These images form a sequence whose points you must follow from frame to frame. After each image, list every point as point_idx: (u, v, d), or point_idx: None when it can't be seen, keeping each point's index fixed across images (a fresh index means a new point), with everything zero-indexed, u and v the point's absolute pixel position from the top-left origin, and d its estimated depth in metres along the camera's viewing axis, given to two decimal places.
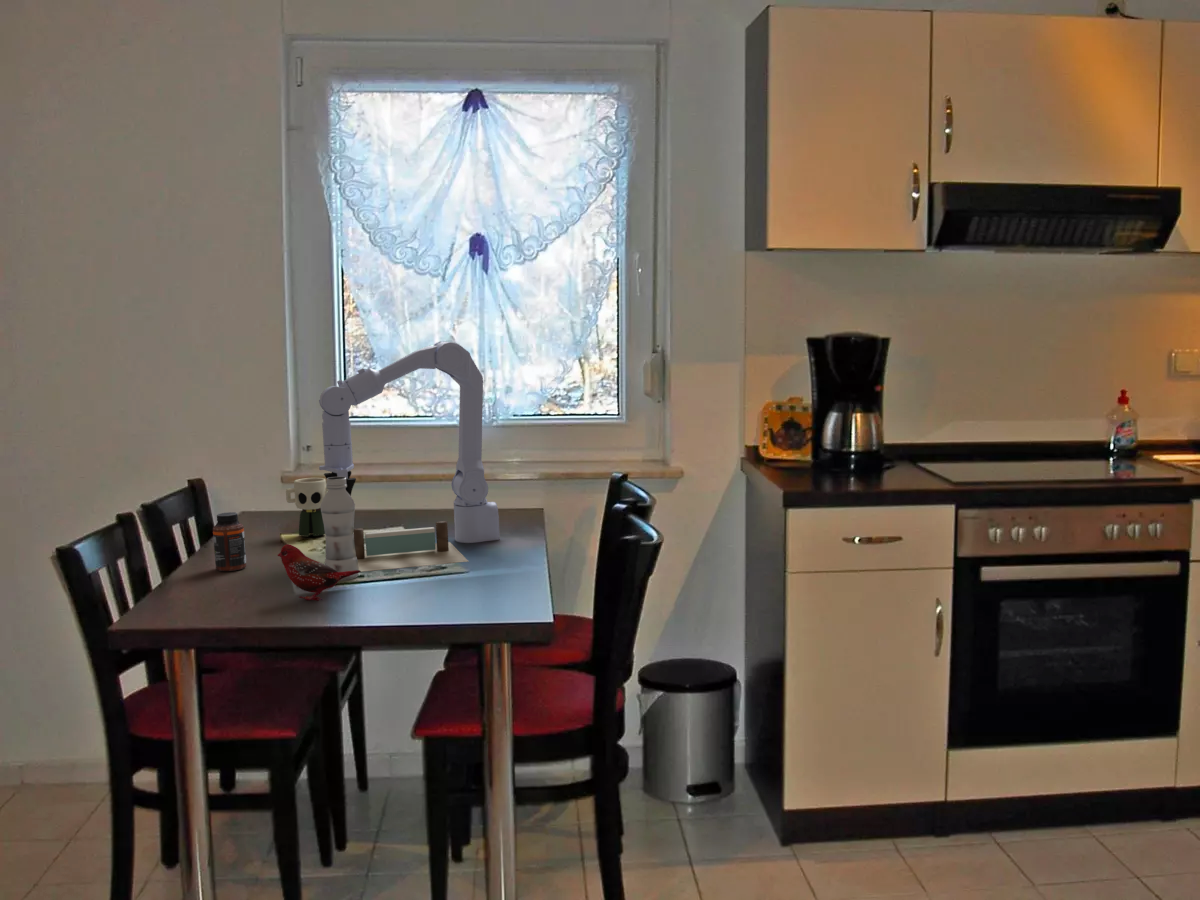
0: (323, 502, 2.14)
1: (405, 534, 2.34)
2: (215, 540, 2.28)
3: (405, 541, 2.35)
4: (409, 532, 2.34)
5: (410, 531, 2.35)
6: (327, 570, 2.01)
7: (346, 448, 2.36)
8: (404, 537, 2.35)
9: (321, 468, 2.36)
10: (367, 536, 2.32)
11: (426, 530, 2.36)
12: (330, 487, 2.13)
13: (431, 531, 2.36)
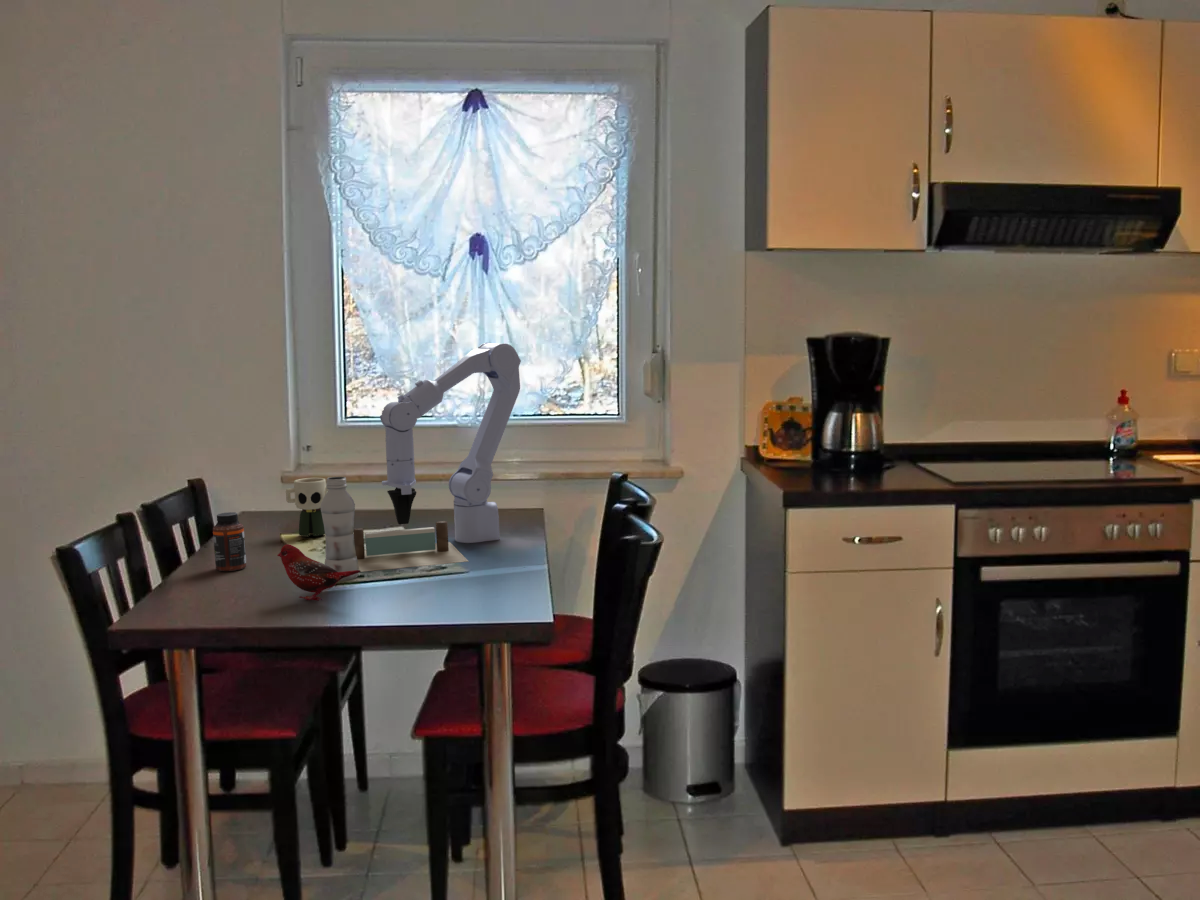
0: (323, 502, 2.14)
1: (405, 534, 2.34)
2: (215, 540, 2.28)
3: (405, 541, 2.35)
4: (409, 532, 2.34)
5: (410, 531, 2.35)
6: (327, 570, 2.01)
7: (409, 464, 2.37)
8: (404, 537, 2.35)
9: (384, 483, 2.38)
10: (367, 536, 2.32)
11: (426, 530, 2.36)
12: (330, 487, 2.13)
13: (431, 531, 2.36)
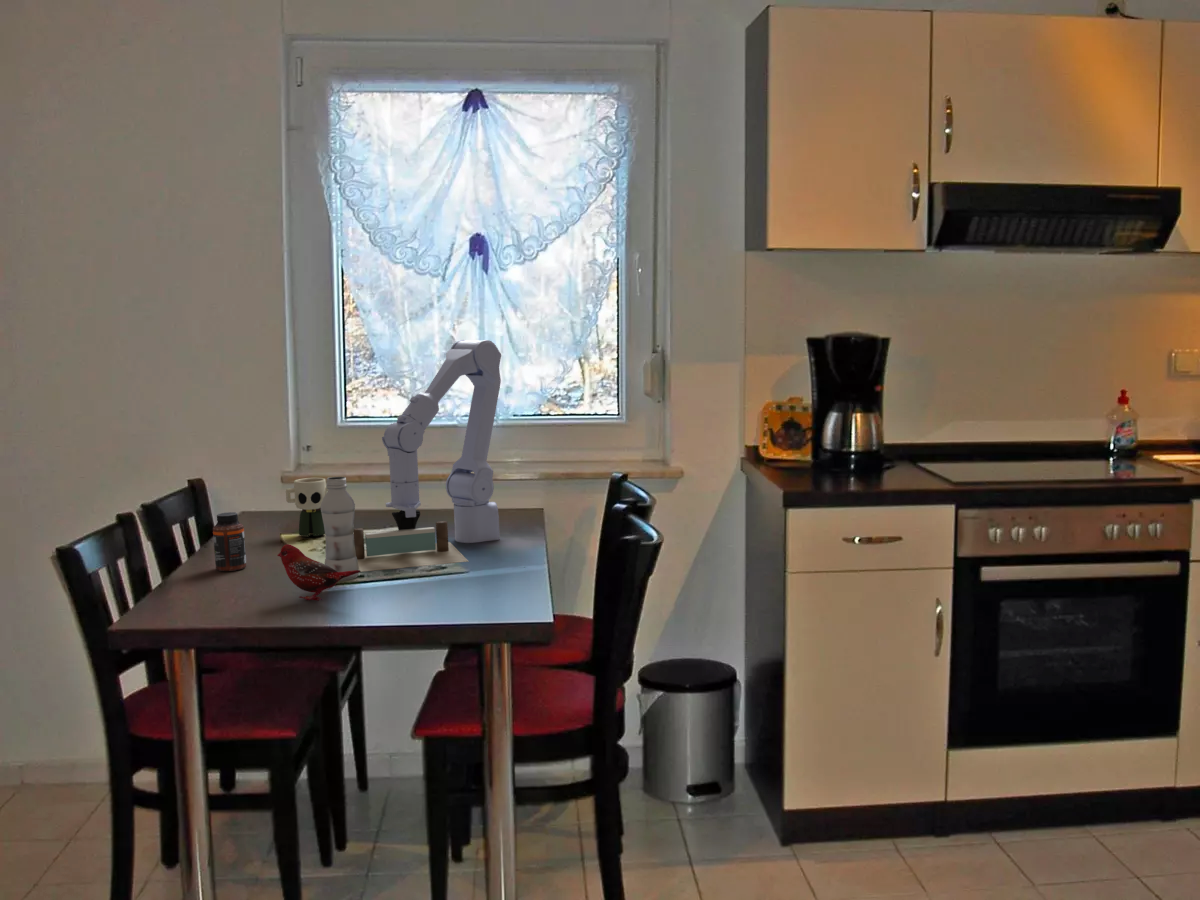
0: (323, 502, 2.14)
1: (405, 534, 2.34)
2: (215, 540, 2.28)
3: (405, 541, 2.34)
4: (409, 532, 2.34)
5: (410, 531, 2.34)
6: (327, 570, 2.01)
7: (413, 485, 2.33)
8: (405, 537, 2.34)
9: (388, 505, 2.34)
10: (367, 536, 2.31)
11: (426, 530, 2.35)
12: (330, 487, 2.13)
13: (431, 531, 2.36)
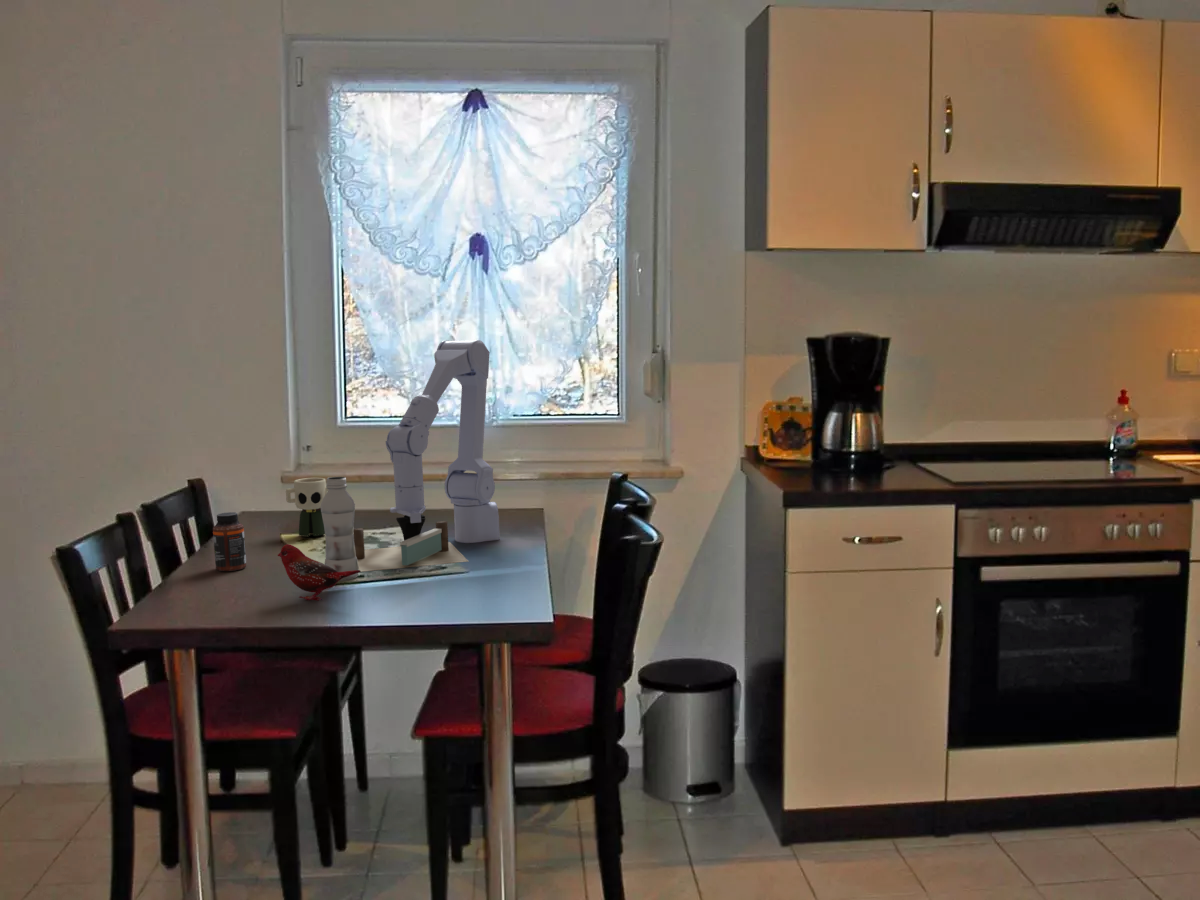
0: (323, 502, 2.14)
1: (427, 538, 2.30)
2: (215, 540, 2.28)
3: (426, 545, 2.30)
4: (429, 535, 2.31)
5: (429, 534, 2.31)
6: (327, 570, 2.01)
7: (418, 490, 2.28)
8: (426, 541, 2.30)
9: (392, 510, 2.28)
10: (408, 544, 2.23)
11: (437, 531, 2.34)
12: (330, 487, 2.13)
13: (439, 531, 2.35)
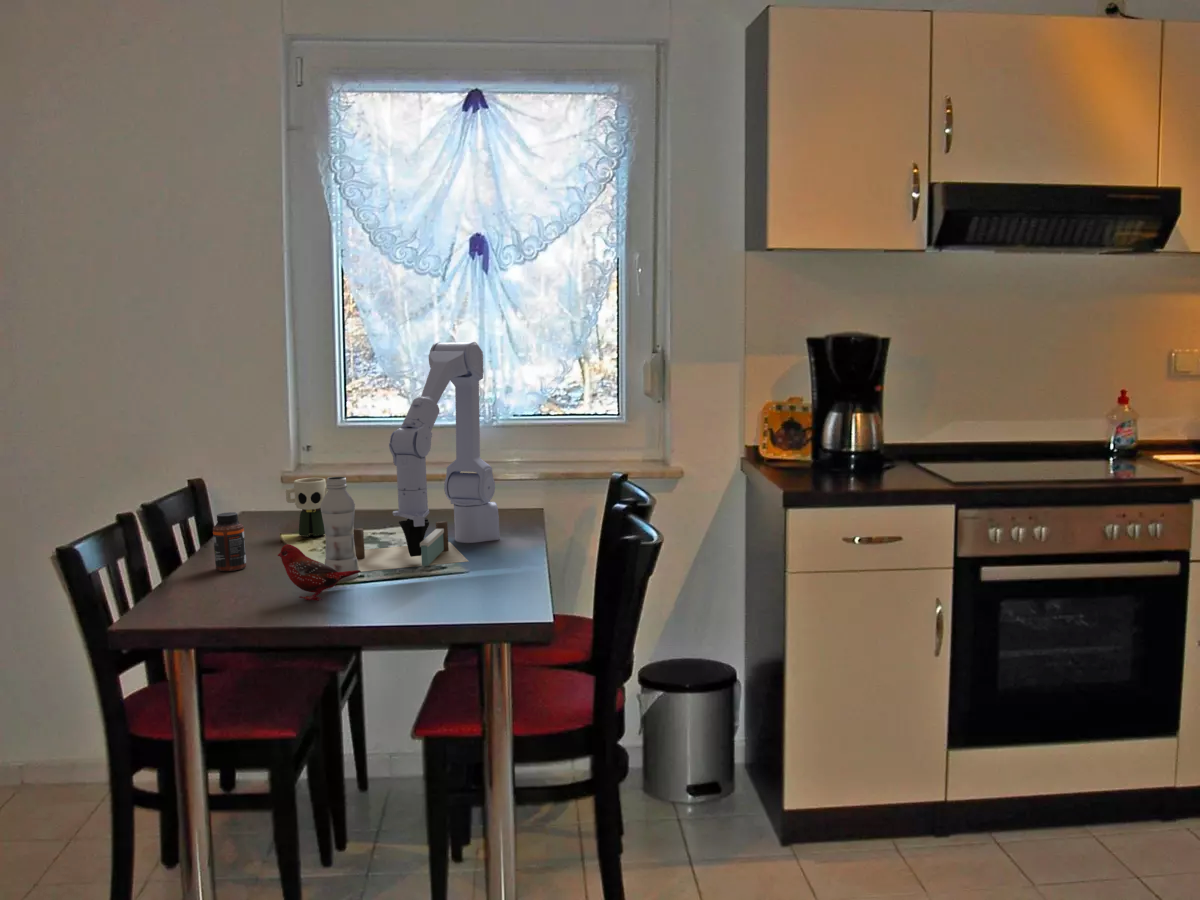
0: (323, 502, 2.14)
1: (436, 538, 2.30)
2: (215, 540, 2.28)
3: (436, 545, 2.30)
4: (438, 535, 2.30)
5: (438, 534, 2.31)
6: (327, 570, 2.01)
7: (422, 493, 2.24)
8: (436, 541, 2.30)
9: (395, 514, 2.24)
10: (428, 545, 2.22)
11: (442, 531, 2.34)
12: (330, 487, 2.13)
13: (443, 531, 2.35)
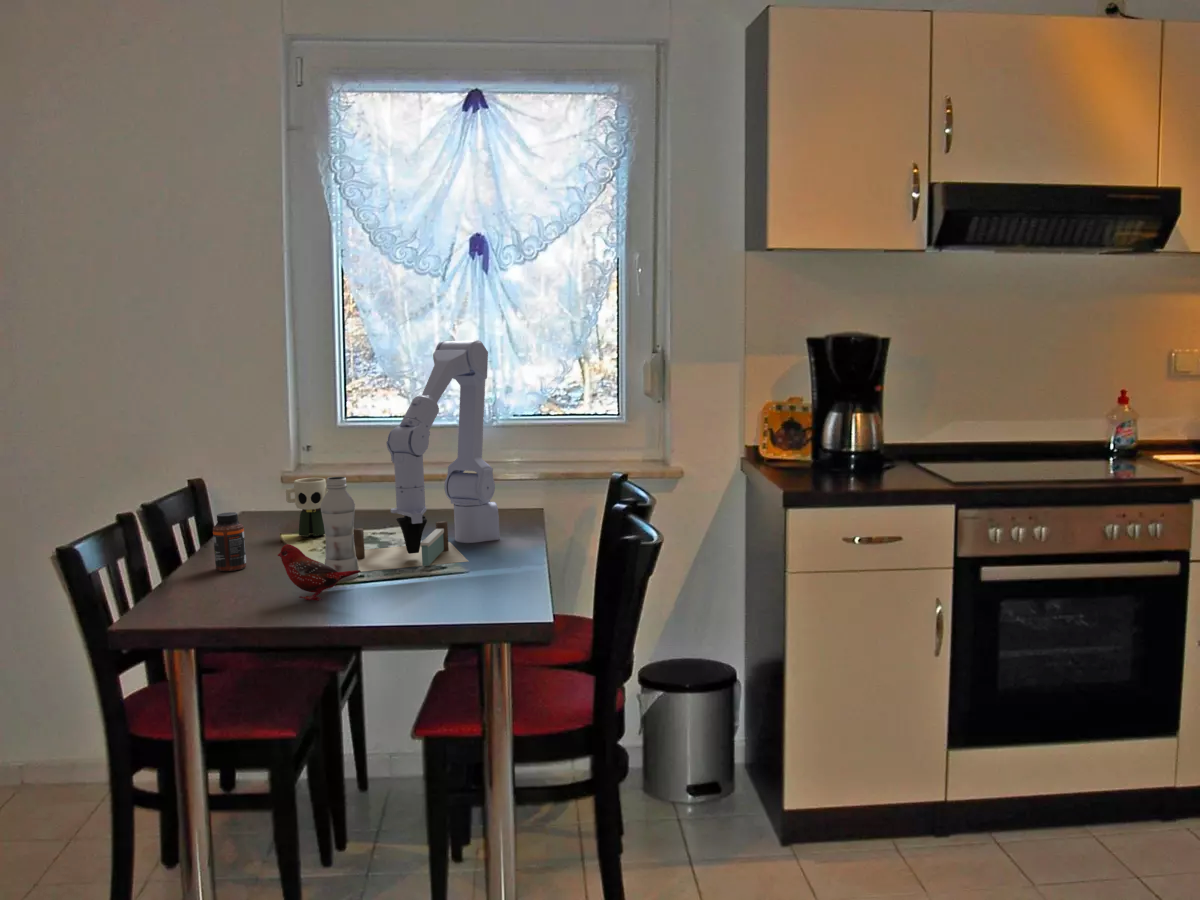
0: (323, 502, 2.14)
1: (437, 538, 2.30)
2: (215, 540, 2.28)
3: (436, 545, 2.30)
4: (438, 535, 2.30)
5: (438, 534, 2.31)
6: (327, 570, 2.01)
7: (419, 490, 2.27)
8: (436, 541, 2.30)
9: (393, 511, 2.27)
10: (428, 545, 2.22)
11: (442, 531, 2.34)
12: (330, 487, 2.13)
13: (443, 531, 2.35)
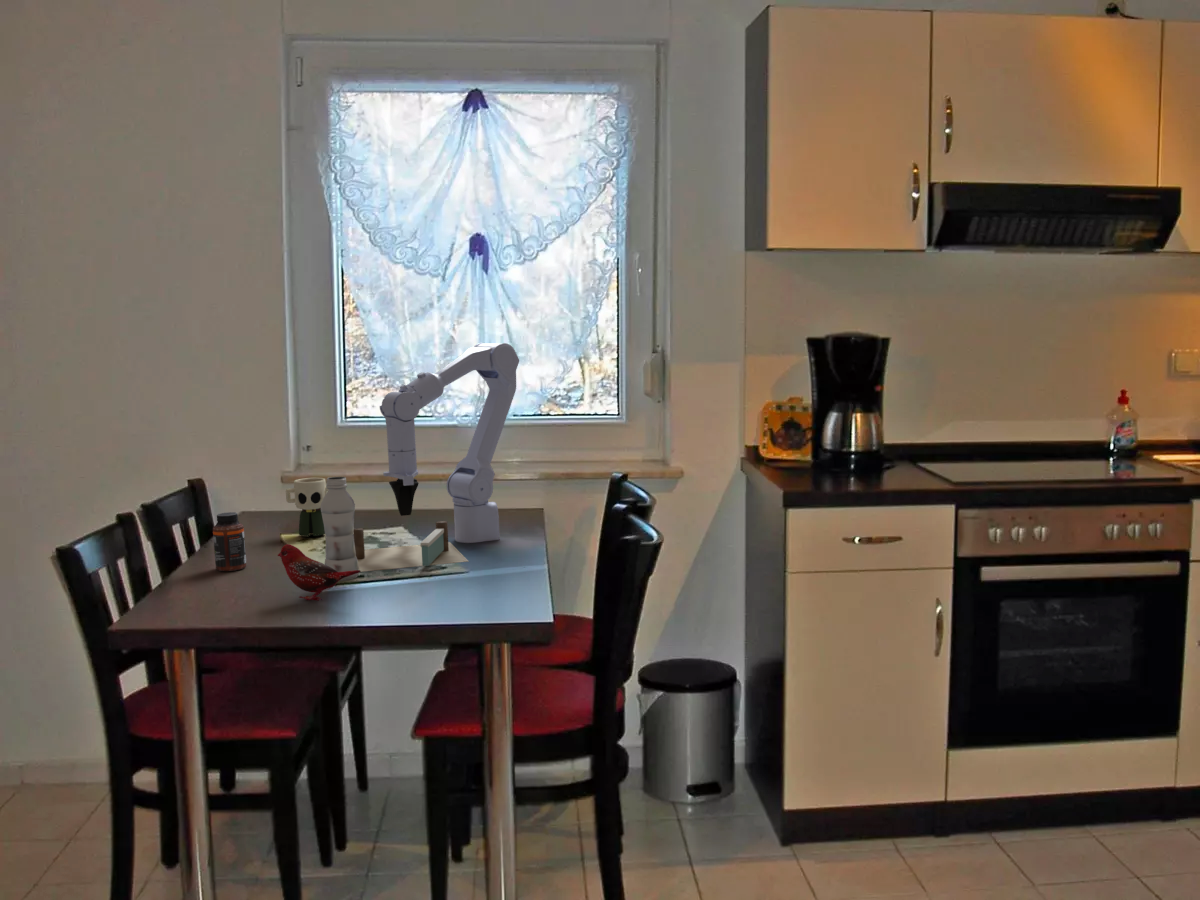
0: (323, 502, 2.14)
1: (437, 538, 2.30)
2: (215, 540, 2.28)
3: (436, 545, 2.30)
4: (438, 535, 2.30)
5: (438, 534, 2.31)
6: (327, 570, 2.01)
7: (411, 454, 2.34)
8: (436, 541, 2.30)
9: (386, 474, 2.34)
10: (428, 545, 2.22)
11: (442, 531, 2.34)
12: (330, 487, 2.13)
13: (443, 531, 2.35)
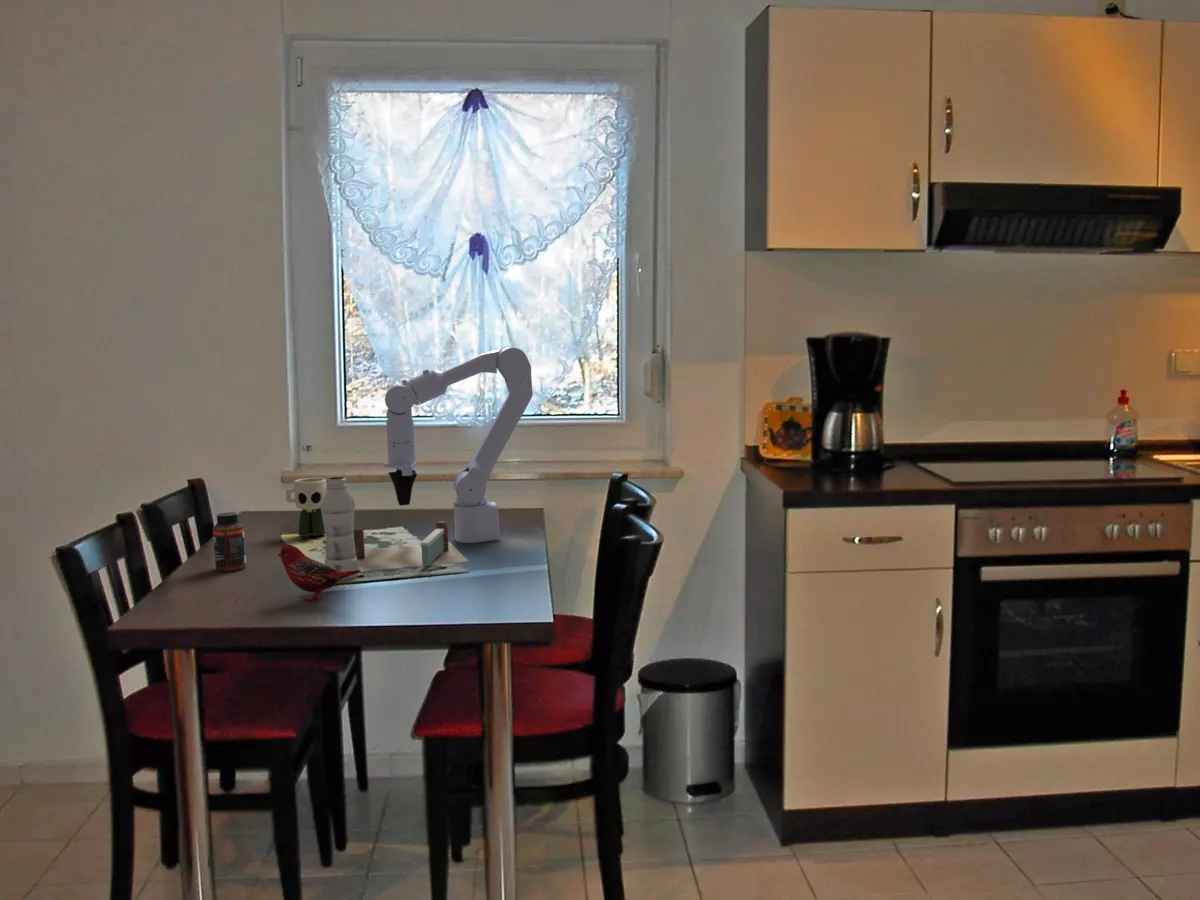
0: (323, 502, 2.14)
1: (437, 538, 2.30)
2: (215, 540, 2.28)
3: (436, 545, 2.30)
4: (438, 535, 2.30)
5: (438, 534, 2.31)
6: (327, 570, 2.01)
7: (410, 445, 2.42)
8: (436, 541, 2.30)
9: (385, 465, 2.42)
10: (428, 545, 2.22)
11: (442, 531, 2.34)
12: (330, 487, 2.13)
13: (443, 531, 2.35)
